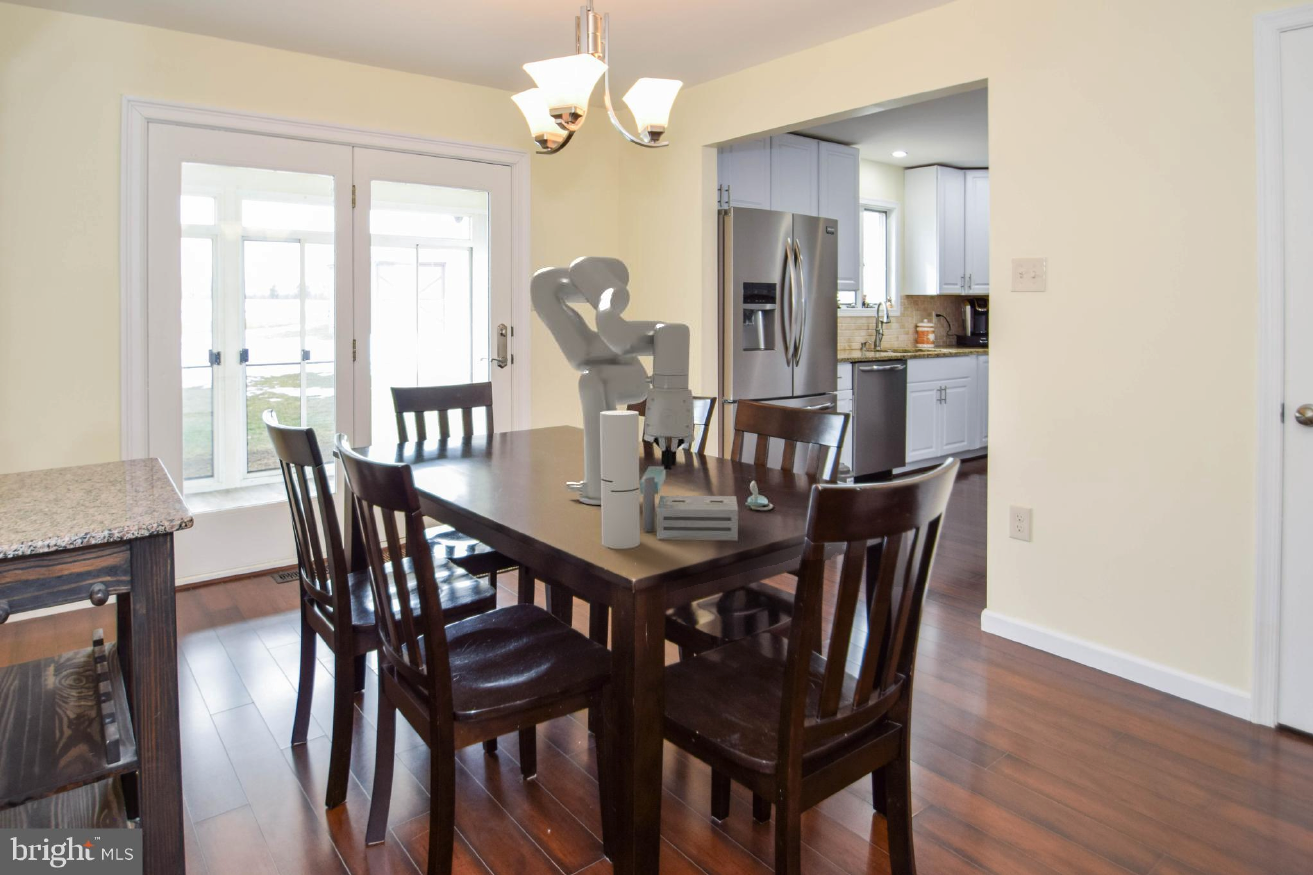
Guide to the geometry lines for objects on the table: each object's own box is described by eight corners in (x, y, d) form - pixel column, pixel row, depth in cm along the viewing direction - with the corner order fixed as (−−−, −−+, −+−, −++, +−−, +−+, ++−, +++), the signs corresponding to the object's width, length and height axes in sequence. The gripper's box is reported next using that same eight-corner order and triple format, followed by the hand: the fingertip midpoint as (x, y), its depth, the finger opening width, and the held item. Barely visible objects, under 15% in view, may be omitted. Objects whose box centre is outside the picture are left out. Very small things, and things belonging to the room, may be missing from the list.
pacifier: (774, 506, 183) (748, 503, 184) (775, 479, 182) (749, 477, 183) (771, 513, 176) (743, 511, 177) (772, 485, 175) (745, 483, 176)
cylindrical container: (617, 536, 157) (615, 409, 153) (647, 542, 153) (646, 411, 149) (594, 544, 151) (592, 413, 147) (624, 550, 147) (623, 415, 143)
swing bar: (657, 531, 159) (657, 478, 158) (639, 531, 159) (638, 478, 158) (665, 509, 178) (665, 462, 176) (649, 509, 178) (649, 461, 176)
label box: (657, 539, 154) (656, 507, 153) (660, 523, 166) (660, 493, 165) (737, 540, 153) (738, 508, 152) (735, 524, 165) (735, 494, 164)
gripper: (632, 383, 165) (630, 470, 168) (704, 385, 163) (701, 474, 166) (638, 379, 172) (637, 463, 175) (707, 382, 170) (705, 466, 173)
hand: (668, 468), depth 170 cm, fingers closed
